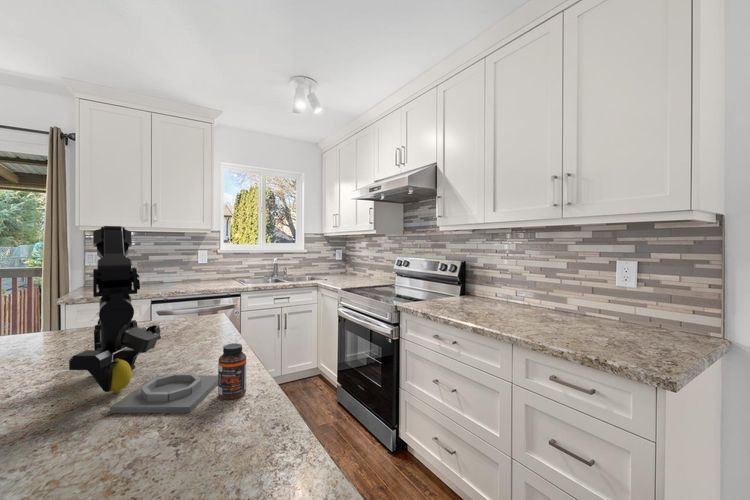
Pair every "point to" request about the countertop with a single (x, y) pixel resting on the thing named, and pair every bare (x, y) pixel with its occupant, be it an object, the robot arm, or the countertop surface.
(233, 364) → the supplement bottle
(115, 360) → the lemon
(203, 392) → the ring plate
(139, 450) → the countertop surface
